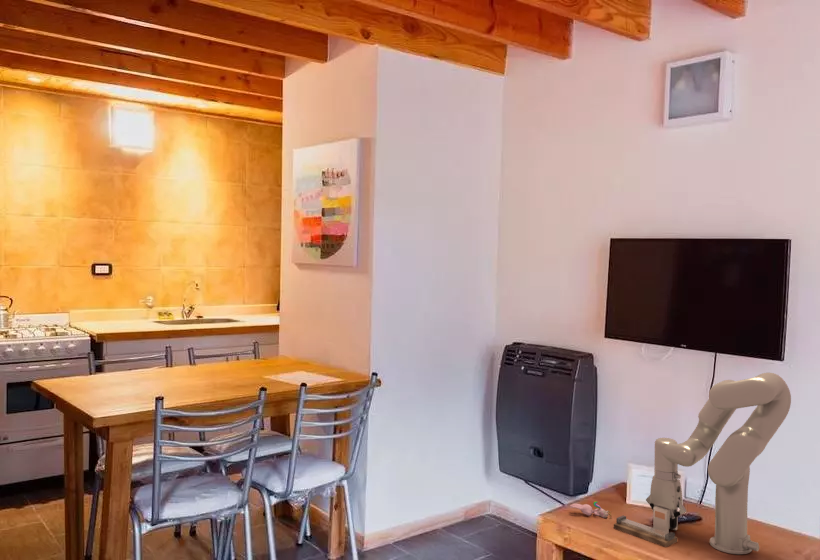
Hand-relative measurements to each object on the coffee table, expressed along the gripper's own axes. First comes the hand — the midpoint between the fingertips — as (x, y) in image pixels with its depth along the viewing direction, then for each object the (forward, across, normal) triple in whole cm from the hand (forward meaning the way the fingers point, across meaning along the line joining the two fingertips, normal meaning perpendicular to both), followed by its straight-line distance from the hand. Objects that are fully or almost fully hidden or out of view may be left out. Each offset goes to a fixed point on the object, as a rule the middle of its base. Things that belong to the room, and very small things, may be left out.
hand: (665, 525), depth 236 cm
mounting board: (+2, +2, +10) cm, 10 cm away
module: (+1, 0, 0) cm, 1 cm away
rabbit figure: (+2, +24, +9) cm, 26 cm away
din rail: (0, +2, +10) cm, 10 cm away
